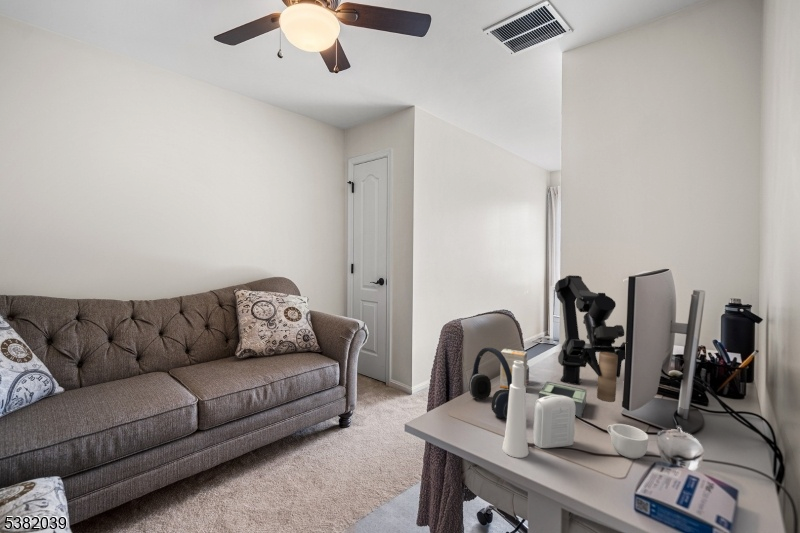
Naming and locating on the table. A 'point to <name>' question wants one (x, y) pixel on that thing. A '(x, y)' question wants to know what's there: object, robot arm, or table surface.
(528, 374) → the pill bottle
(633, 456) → the teacup
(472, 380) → the headphones
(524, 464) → the table surface
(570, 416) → the photo printer
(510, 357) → the supplement box
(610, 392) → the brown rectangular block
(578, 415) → the money box
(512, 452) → the cosmetic bottle
